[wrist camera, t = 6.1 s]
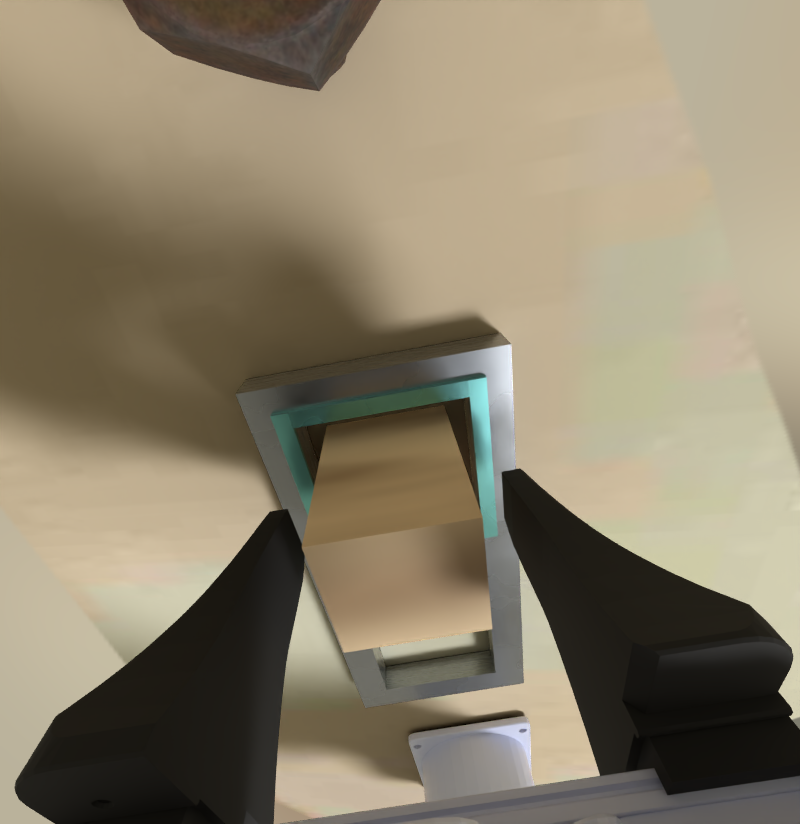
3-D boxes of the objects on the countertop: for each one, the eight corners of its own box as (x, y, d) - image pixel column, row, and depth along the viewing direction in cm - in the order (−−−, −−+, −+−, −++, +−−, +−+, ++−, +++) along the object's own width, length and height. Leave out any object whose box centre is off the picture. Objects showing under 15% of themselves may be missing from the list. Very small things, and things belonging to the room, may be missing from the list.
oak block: (455, 496, 17) (492, 629, 12) (353, 513, 17) (344, 652, 12) (443, 404, 15) (482, 517, 10) (327, 425, 15) (301, 547, 10)
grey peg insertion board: (516, 661, 23) (525, 686, 22) (365, 684, 23) (365, 711, 22) (500, 332, 14) (513, 346, 12) (246, 379, 14) (233, 397, 13)
